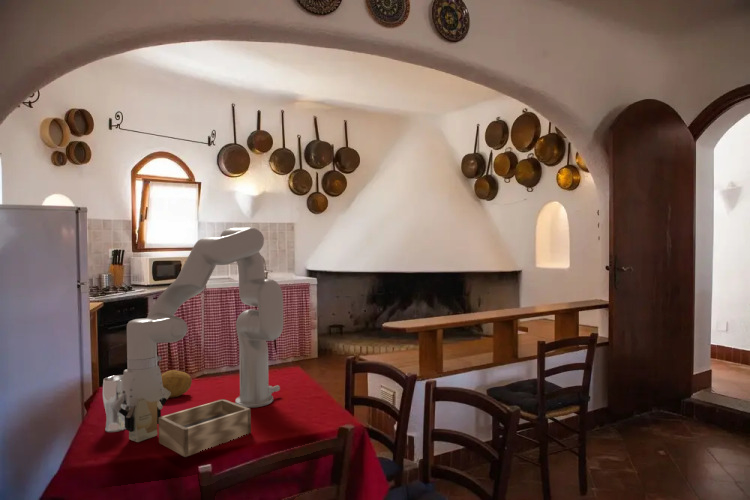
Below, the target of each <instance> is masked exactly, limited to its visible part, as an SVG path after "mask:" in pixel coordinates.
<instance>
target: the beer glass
mask: <svg viewBox="0 0 750 500" xmlns="http://www.w3.org/2000/svg"><path fill="white" fill-rule="evenodd" d="M122 379H123V374H117V375H111V376H108V377H107V376H106V377H105V378H103V381H102V382H103V383H102V401H103V407H104V409H105V414H106V415H105V416H106V421H105V428H104V429H105V432H106V433H117V432H122V431H125V430H127V429H126V428H125V416H123V415H122V414H121V413H119V412H118V411H116V410H115V409H114V408H113V407H112V406H113V404H114V403H115V402H116V401H117V400H118V399H119V398H120V396H121V386H122ZM121 407H122V408H123V409H125V407H126V405H124V404H121Z"/></svg>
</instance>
